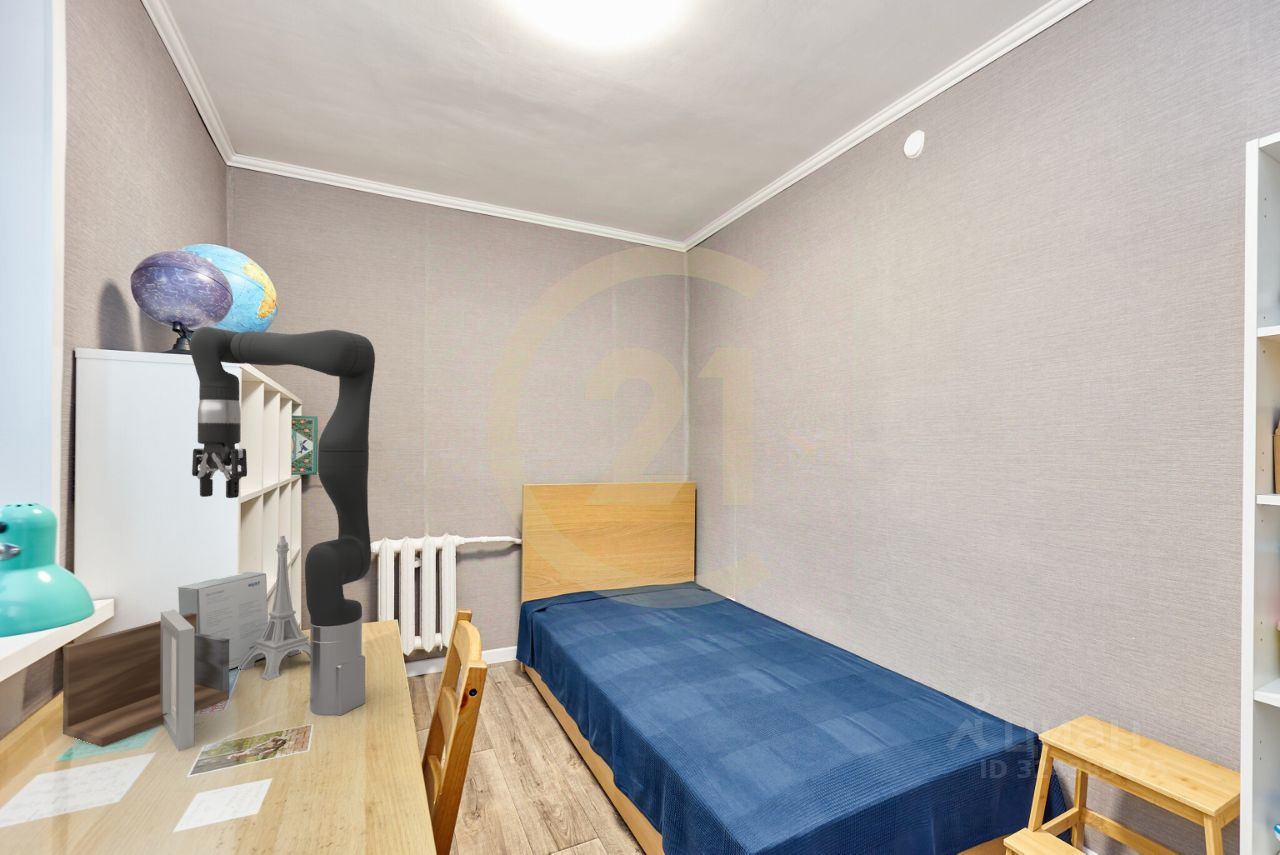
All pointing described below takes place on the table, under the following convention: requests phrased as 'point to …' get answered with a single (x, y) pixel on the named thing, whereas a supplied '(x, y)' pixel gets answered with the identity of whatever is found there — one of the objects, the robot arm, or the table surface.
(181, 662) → the picture frame
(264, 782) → the table surface
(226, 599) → the hard drive box
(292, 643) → the eiffel tower
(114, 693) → the walnut shelf
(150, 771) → the table surface
